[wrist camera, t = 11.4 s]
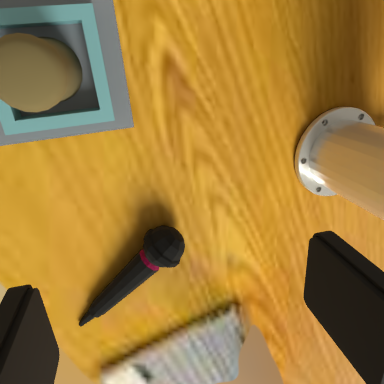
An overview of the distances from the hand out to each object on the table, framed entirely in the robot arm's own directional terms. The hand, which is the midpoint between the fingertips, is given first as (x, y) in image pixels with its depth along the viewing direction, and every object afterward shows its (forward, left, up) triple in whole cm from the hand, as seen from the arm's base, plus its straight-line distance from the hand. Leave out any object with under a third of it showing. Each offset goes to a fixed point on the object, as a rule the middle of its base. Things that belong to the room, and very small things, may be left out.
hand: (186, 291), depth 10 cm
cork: (+7, -7, -27) cm, 28 cm away
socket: (+7, -7, -27) cm, 29 cm away
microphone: (+4, +19, -28) cm, 34 cm away
